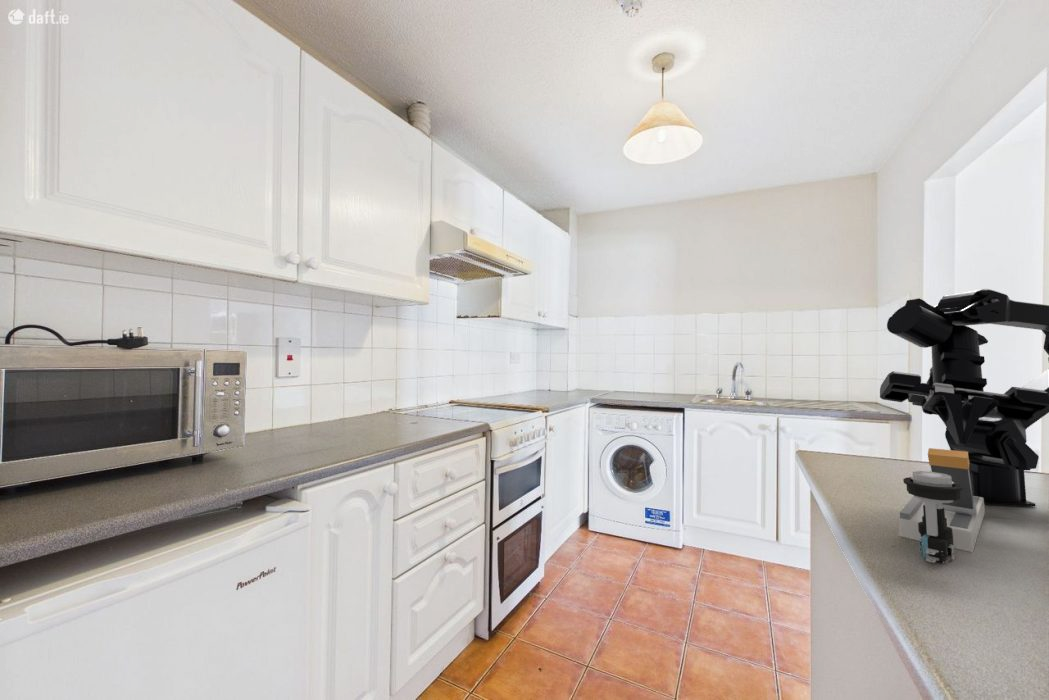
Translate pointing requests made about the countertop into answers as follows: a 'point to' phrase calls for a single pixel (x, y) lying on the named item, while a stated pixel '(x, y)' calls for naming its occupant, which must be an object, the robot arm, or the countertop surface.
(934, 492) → the push button
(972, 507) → the lever
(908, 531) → the panel
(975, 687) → the countertop surface
